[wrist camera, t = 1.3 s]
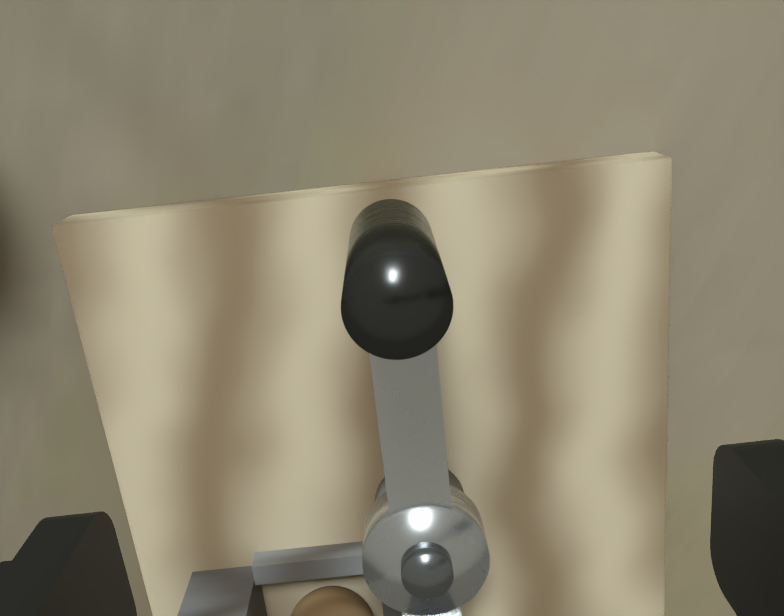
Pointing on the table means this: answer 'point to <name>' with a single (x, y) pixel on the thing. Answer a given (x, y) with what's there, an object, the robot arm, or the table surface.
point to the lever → (410, 417)
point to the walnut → (332, 603)
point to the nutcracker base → (356, 392)
